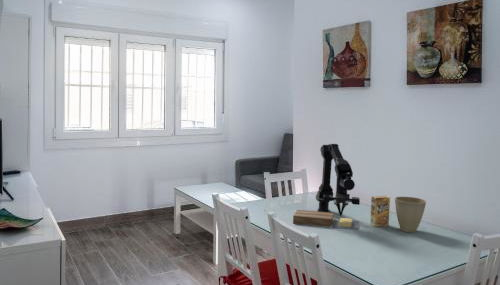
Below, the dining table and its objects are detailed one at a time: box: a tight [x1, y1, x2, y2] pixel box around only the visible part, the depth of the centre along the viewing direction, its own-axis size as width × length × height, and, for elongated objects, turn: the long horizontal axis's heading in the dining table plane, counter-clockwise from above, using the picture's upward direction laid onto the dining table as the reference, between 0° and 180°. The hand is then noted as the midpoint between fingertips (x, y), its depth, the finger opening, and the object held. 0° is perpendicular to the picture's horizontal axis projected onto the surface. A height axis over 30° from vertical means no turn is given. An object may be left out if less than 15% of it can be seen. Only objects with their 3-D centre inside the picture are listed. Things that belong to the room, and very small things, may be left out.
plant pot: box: [394, 196, 427, 233], centre depth 216 cm, size 15×15×16 cm
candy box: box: [369, 195, 391, 227], centre depth 224 cm, size 9×4×15 cm, turn 107°
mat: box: [331, 218, 360, 231], centre depth 224 cm, size 16×13×1 cm
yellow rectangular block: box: [339, 217, 353, 227], centre depth 224 cm, size 9×6×2 cm, turn 164°
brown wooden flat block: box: [292, 209, 335, 228], centre depth 228 cm, size 14×20×4 cm
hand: (340, 215), depth 224 cm, fingers closed
